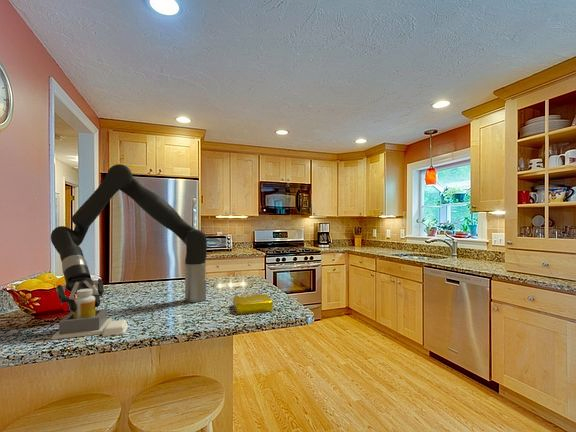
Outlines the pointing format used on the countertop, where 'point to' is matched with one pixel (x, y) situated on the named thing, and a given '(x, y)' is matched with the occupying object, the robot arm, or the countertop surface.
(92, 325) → the pocket plate
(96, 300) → the robot arm
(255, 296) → the element tile
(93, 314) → the supplement bottle
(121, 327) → the soap
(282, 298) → the countertop surface
